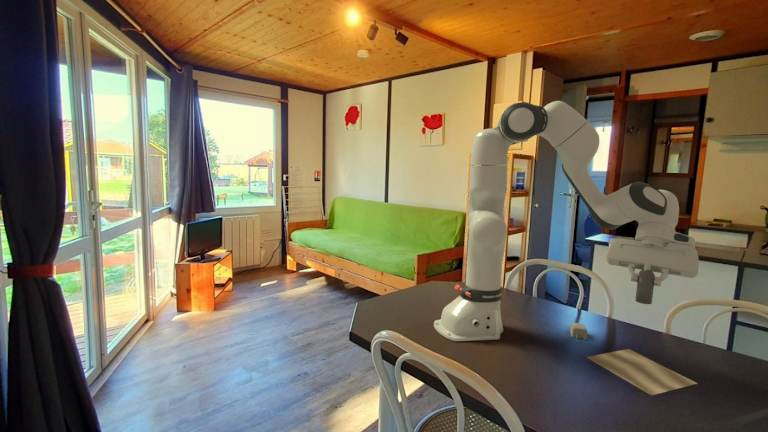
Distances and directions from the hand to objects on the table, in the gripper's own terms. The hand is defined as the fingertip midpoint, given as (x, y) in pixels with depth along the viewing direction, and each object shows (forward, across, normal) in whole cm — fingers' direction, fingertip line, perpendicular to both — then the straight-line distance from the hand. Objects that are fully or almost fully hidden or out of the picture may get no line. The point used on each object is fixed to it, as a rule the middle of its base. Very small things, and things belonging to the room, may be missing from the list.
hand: (645, 282), depth 97 cm
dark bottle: (+3, 0, +4) cm, 5 cm away
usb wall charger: (+12, -16, +21) cm, 29 cm away
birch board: (+19, +1, +14) cm, 24 cm away
